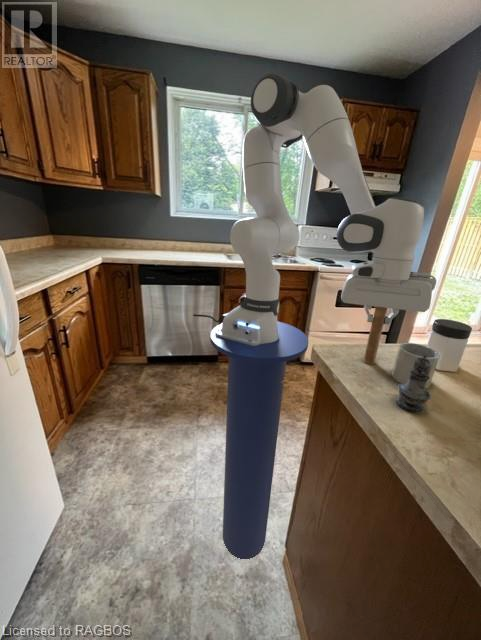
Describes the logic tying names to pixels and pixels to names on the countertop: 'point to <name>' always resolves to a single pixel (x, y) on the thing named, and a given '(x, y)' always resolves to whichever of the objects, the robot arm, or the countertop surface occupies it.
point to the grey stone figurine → (415, 387)
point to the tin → (407, 359)
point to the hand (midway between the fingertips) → (377, 322)
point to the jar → (449, 342)
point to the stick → (375, 335)
